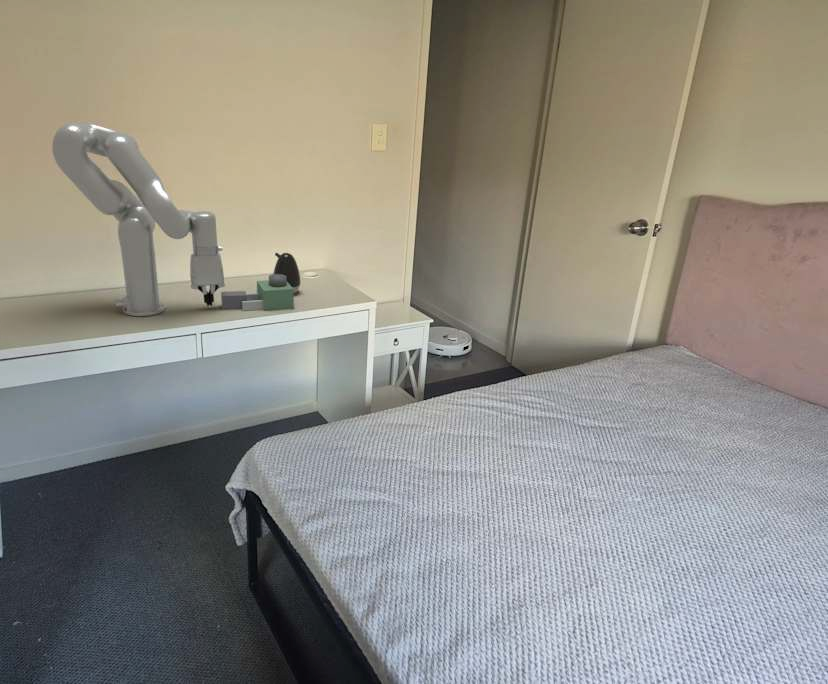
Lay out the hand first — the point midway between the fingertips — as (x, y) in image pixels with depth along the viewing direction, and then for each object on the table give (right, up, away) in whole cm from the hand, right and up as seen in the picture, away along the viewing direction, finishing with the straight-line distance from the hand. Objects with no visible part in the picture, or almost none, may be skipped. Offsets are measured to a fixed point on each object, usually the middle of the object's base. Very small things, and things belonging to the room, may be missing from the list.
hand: (209, 304), depth 199 cm
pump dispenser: (+21, +6, +23) cm, 31 cm away
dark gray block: (+7, -1, +4) cm, 8 cm away
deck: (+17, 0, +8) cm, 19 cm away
